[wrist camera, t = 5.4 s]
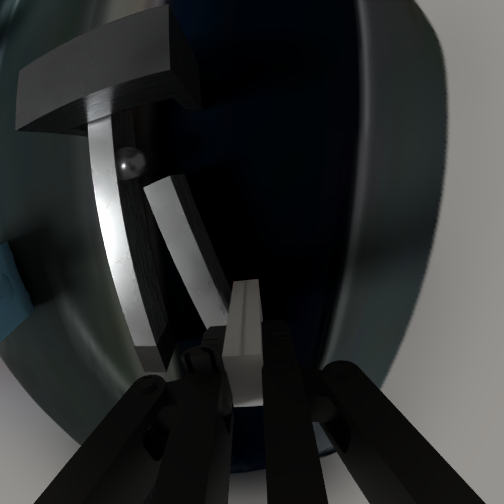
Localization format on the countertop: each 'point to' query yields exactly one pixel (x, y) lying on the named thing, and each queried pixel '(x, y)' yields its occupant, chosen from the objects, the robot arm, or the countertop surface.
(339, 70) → the countertop surface
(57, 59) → the collar
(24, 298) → the blue teapot
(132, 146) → the tongs fixed
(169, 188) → the tongs jaw
